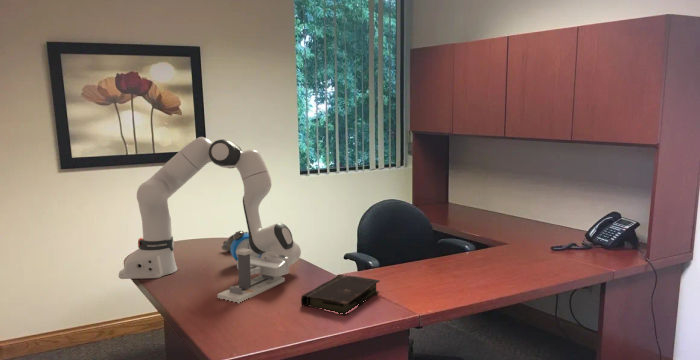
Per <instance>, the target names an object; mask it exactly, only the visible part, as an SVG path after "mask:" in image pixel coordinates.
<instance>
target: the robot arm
mask: <svg viewBox="0 0 700 360" xmlns="http://www.w3.org/2000/svg"><path fill="white" fill-rule="evenodd" d="M211 162H212V163H213V164H214V165H216V166H218V167H220V168H225V169H234V168H236V170H237V171H238V172H239V174H240V178H241V181H242V184H243V192H244V193H243V197H242V205H243V206H242V207H243V211H244V217H245V222H246V227H247V232H249V245H250V247H251V249H252V250H253V251H254V252H255V253H257V254H259V255H261V257H260V258H258V257H251V256H250V274H251V276H253V275H257V274H259V275H262V274H264V275H269V276H274V277H283V276H284V275H288V274H290V266H292V265H293V264H295V263H296V262H298V260H299V259H300V257H301V253H302V250H301V248H300V245H299V244H298V243H296V241H294V240H293V239H294V238H293V234H292V232H291V230H290V229H289V227H288V226H287V225H286V224H284V223H282V222H277V223H275V224H272V225H269V226H267V227H263V225H262V221H261V217H260V213H259V209H260V204H261V203H262V201H263V200H264V199H265V197H267V196H268V194H269V193H270V192H271V191H270V190H271V189H272V179H271V175H270V173H269V170H268V167H267V165H266V163H265V161H264V158H263V157H262V156H261V153H260V152H258V150H256V149H247V150H242V149H241V147H240V146H239V145H238V144H236V143H235V142H233V141H231V140H228V139H218V140H214V142H212V141H211V140H210V139H209V138H207V137H204V136H199V137H197V138H195V139H194V140H192V141H191V142H189V143H187V144H186V145H185V146H184V147H183V148H182V149H180V150H179V151H178V152H177V153H175V154H174V156H172V158H171V157H170V159H169V160H168V161H166V163H165V164H164V165H163V166H161V168H159V170H158V171H156V172H155V173H154V174H153V175H152V176H150V178H149V179H147V180H146V181H144V182H143V183H141V184H140V185H139V186H138V188H137V192H136V200H137V203H138V209H139V213H140V214H139V215H140V217H141V223H142V224H141V225H142V237H140V238H138V239H137V241H138V242H137V249H136V250H135V251H134V252H132V253H131V254H130V255H129V256H128V257H127V258H126V259H125V262H124V267H123V268H122V269H120V270H119V271H118V278H119V279H121V280H124V279H125V280H131V279H133V280H134V279H136V280H137V279H159V278H162V277H163V276H167V275H170V274H173V273H176V272H177V271H178V266H177V263H176V260H175V255H174V248H175V246H174V245H175V244H174V236H172V235H173V234H172V219H171V216H170V210H169V209H170V208H169V204H168V203H169V202H168V200H169V198H170V197H172V196H173V195H174V194H175V193H176V192H177V191H179V189H181V188H182V187H183V186H184V185H185V184H186V183H187V182H188V181H189V180H191V179H192V178H193V177H194V176H195V175H196V174H198V173H199V172H200V170H202V169H203V168H204V167H205V166H206V165H207V164H209V163H211ZM236 269H237V270H238V260H237V261H236Z"/></svg>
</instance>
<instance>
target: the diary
mask: <svg viewBox="0 0 700 360" xmlns="http://www.w3.org/2000/svg"><path fill="white" fill-rule="evenodd" d="M379 282H381V281H380V280H379V279H375V278H373V279H372V278H368V277H362V276H357V275H356V276H355V275H344V274H338V275H336V276H335V277H333V278H331V279H330V280H328V281H326V282H324V283H323V284H320V285H318V286H316V287H315V288H314V289H312V290H310V291H308V292H306V293H303V294H302V295H301V297H300V300H301V301H300V303H301V307H304V306H306V305H307V307H308V306H309V305H311V306H312V307H311V306H309V307H311V308H314V307H317V308H316V309H318V308H322V309H326V310H330V311H335V312H338V313H339V314H340V313H343V314H342V315H341V316H348V315H349V314H348V313H347V314H348V315H347V314H345V313H346V312H348V311H349V310H351V309H352V308H354V307H355V306H357V305H358V304H359V305H358V306H359V307H361V306H362V305H363V304H365V303H366V301H365V300H367V299H368V300H367V302H368V301H369V300H370V299H371V298H372V297H374V296H376V295H378V294H379V293H380V291H377V283H378V284H379ZM363 301H364V302H363ZM305 304H306V305H305ZM303 305H304V306H303ZM360 305H361V306H360ZM322 309H321V310H322Z"/></svg>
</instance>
